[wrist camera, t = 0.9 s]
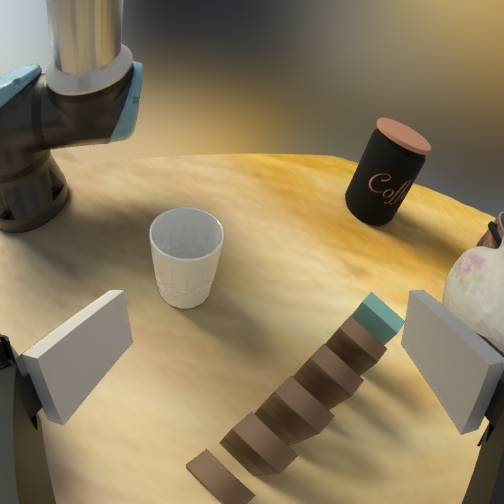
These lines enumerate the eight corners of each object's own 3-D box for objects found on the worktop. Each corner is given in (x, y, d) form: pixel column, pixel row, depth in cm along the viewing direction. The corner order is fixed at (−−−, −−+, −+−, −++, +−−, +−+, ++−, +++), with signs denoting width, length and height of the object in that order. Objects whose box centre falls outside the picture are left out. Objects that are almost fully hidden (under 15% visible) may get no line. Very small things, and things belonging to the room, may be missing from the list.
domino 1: (186, 468, 25) (185, 464, 18) (201, 457, 26) (206, 448, 19) (220, 502, 23) (235, 512, 16) (235, 490, 24) (255, 495, 17)
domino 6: (279, 391, 33) (310, 357, 25) (290, 380, 34) (323, 343, 26) (310, 420, 31) (351, 395, 23) (321, 408, 32) (364, 380, 24)
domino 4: (326, 344, 38) (362, 301, 30) (335, 335, 39) (371, 291, 32) (354, 370, 36) (397, 333, 28) (362, 360, 37) (405, 321, 30)
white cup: (210, 261, 43) (218, 206, 36) (219, 311, 38) (230, 258, 31) (153, 264, 41) (149, 207, 34) (155, 315, 36) (149, 262, 29)
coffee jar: (347, 221, 55) (388, 137, 42) (339, 187, 62) (371, 111, 49) (395, 233, 56) (440, 158, 43) (383, 199, 64) (418, 129, 50)
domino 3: (250, 416, 30) (274, 391, 23) (263, 405, 31) (291, 375, 24) (283, 447, 28) (319, 433, 21) (295, 435, 29) (334, 416, 22)
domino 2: (219, 442, 27) (232, 428, 20) (233, 431, 29) (251, 411, 21) (253, 475, 26) (279, 473, 18) (267, 463, 27) (298, 455, 19)
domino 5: (304, 366, 35) (339, 327, 28) (314, 356, 36) (350, 315, 29) (334, 394, 33) (377, 362, 26) (343, 383, 34) (387, 348, 27)
